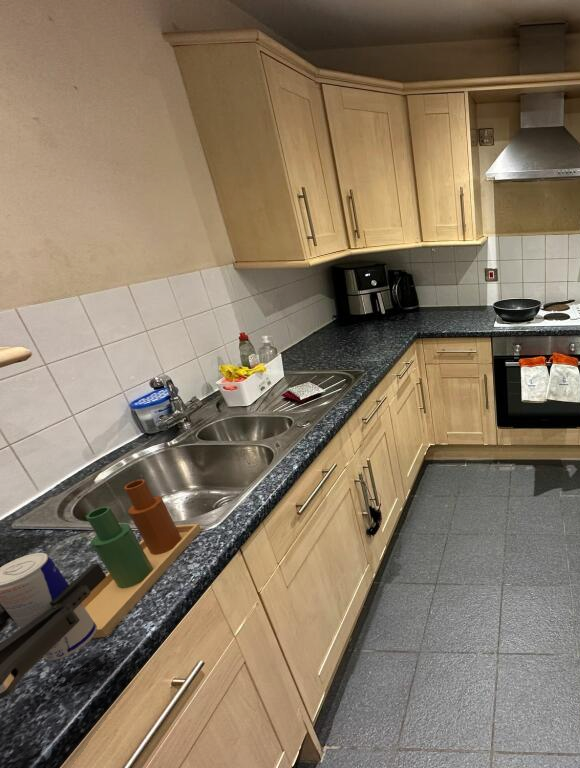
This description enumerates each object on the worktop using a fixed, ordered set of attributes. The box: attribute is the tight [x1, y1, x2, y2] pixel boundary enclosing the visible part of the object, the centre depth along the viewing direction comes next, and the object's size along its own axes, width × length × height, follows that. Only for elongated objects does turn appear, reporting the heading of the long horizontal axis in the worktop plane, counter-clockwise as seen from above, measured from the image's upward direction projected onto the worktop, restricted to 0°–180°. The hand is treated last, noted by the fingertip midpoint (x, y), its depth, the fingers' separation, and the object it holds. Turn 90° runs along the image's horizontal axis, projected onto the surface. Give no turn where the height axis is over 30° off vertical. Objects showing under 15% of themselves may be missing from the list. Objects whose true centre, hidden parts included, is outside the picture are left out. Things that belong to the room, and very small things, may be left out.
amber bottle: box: [124, 479, 182, 555], centre depth 81 cm, size 5×5×16 cm
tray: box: [82, 523, 203, 639], centre depth 77 cm, size 9×24×2 cm, turn 3°
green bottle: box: [85, 506, 153, 588], centre depth 74 cm, size 5×5×16 cm
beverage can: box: [0, 552, 97, 661], centre depth 56 cm, size 6×6×15 cm
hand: (78, 572), depth 60 cm, fingers closed on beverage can, 6 cm apart
